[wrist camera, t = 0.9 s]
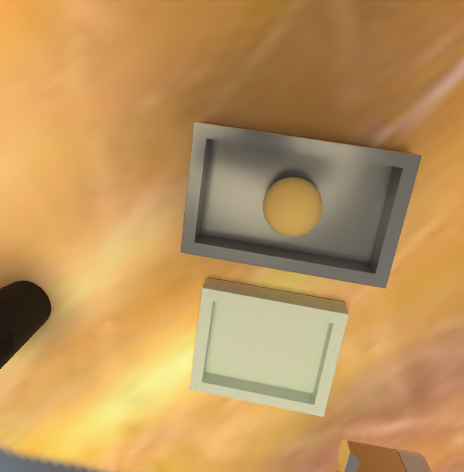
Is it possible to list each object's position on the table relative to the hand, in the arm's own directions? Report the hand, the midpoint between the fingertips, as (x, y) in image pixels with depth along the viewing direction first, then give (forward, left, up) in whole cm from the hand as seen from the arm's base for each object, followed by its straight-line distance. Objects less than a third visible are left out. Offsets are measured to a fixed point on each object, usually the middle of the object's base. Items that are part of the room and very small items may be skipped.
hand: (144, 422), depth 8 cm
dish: (-1, +3, -26) cm, 26 cm away
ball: (-1, +3, -25) cm, 25 cm away
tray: (+12, +3, -26) cm, 29 cm away
